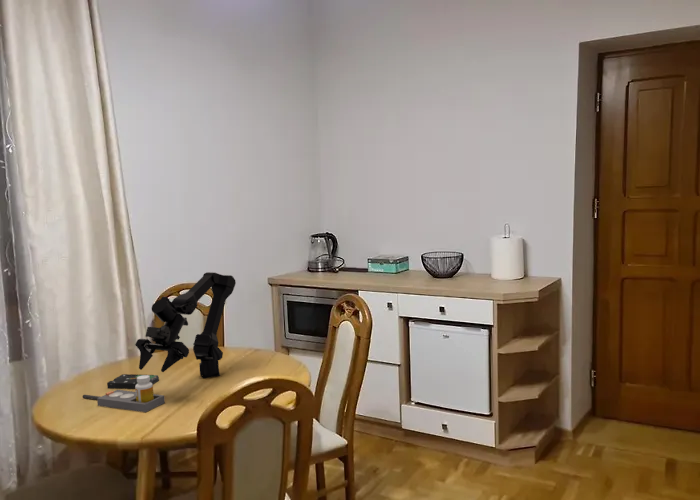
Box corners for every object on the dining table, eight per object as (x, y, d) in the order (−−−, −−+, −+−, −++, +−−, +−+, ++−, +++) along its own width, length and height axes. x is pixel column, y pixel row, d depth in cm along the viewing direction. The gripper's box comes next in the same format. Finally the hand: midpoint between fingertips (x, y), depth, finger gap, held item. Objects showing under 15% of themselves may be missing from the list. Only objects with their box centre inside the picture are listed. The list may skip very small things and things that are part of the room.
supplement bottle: (157, 404, 206) (155, 374, 205) (147, 409, 201) (145, 379, 200) (143, 402, 208) (141, 373, 207) (133, 408, 203) (130, 378, 202)
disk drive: (107, 390, 225) (145, 390, 222) (106, 382, 225) (144, 383, 222) (122, 381, 235) (159, 381, 232) (122, 374, 235) (159, 374, 232)
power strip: (164, 402, 207) (164, 393, 207) (145, 412, 199) (144, 402, 198) (93, 393, 220) (92, 384, 219) (72, 402, 212) (71, 393, 211)
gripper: (136, 315, 214) (114, 355, 205) (181, 317, 206) (160, 359, 197) (154, 333, 222) (134, 372, 213) (198, 336, 214) (178, 377, 205)
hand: (150, 370), depth 207 cm, fingers open, 9 cm apart
